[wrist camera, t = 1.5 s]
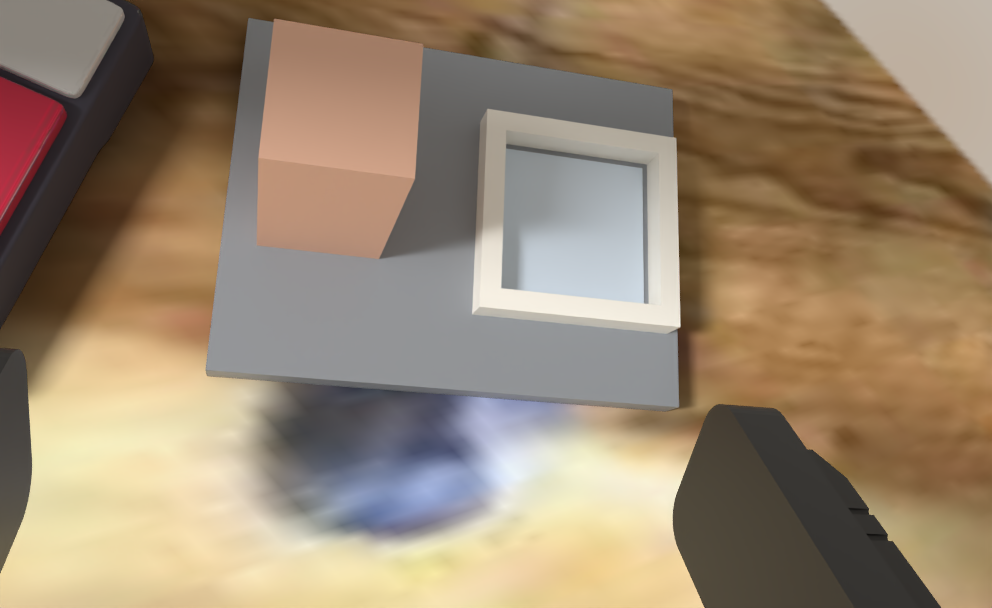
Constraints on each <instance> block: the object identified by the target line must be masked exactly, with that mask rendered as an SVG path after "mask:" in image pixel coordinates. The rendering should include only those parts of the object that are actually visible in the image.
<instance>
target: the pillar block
mask: <svg viewBox="0 0 992 608" xmlns="http://www.w3.org/2000/svg"><path fill="white" fill-rule="evenodd" d="M422 58H423V44H421V43H415V42H410V41H404V40H398V39H392V38H386V37H380V36H374V35H368V34H362V33H356V32H351V31H345V30H339V29H333V28H327V27H321V26H315V25H309V24H303V23H298V22H292V21H286V20H280V19H274V24H273V33H272V42H271V50H270V59H269V68H268V77H267V86H266V95H265V104H264V112H263V121H262V130H261V139H260V148H259V157H258V201H257V246H266V247H275V248H284V249H293V250H302V251H311V252H320V253H329V254H338V255H347V256H356V257H365V258H374V259H379V258H380V256H381V254H382V251H383V249H384V247H385V245H386V242H387V240H388V238H389V236H390V233H391V231H392V229H393V227H394V224H395V222H396V220H397V218H398V216H399V213H400V211H401V209H402V207H403V204H404V202H405V200H406V198H407V195H408V193H409V191H410V189H411V187H412V184H413V182H414V180H415V170H416V154H417V138H418V122H419V106H420V90H421V74H422Z"/></svg>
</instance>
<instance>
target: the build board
mask: <svg viewBox="0 0 992 608" xmlns="http://www.w3.org/2000/svg"><path fill="white" fill-rule="evenodd" d="M273 24H274V22H270V21H264V20H258V19H252V18H248V25H247V33H246V42H245V50H244V58H243V66H242V75H241V83H240V91H239V99H238V107H237V116H236V124H235V132H234V140H233V149H232V157H231V165H230V173H229V181H228V190H227V198H226V206H225V214H224V223H223V231H222V239H221V247H220V255H219V264H218V272H217V280H216V288H215V297H214V305H213V313H212V321H211V330H210V338H209V346H208V354H207V362H206V374H207V376H213V377H226V378H239V379H252V380H265V381H278V382H291V383H304V384H317V385H330V386H343V387H356V388H369V389H382V390H395V391H408V392H421V393H434V394H447V395H460V396H473V397H486V398H499V399H512V400H525V401H538V402H551V403H564V404H577V405H590V406H603V407H616V408H629V409H642V410H655V411H669V410H672V409H675V408H678V407H679V381H678V333H677V329H678V328H680V281H679V235H678V189H677V143H676V138H673V93H672V89H667V88H661V87H655V86H649V85H643V84H637V83H631V82H625V81H619V80H613V79H607V78H602V77H596V76H590V75H584V74H578V73H572V72H566V71H560V70H554V69H548V68H542V67H536V66H530V65H525V64H519V63H513V62H507V61H501V60H495V59H489V58H483V57H477V56H471V55H465V54H459V53H453V52H447V51H442V50H436V49H430V48H424V47H423V58H422V74H421V90H420V106H419V122H418V138H417V154H416V170H415V180H414V182H413V184H412V187H411V189H410V191H409V193H408V195H407V198H406V200H405V202H404V204H403V207H402V209H401V211H400V213H399V216H398V218H397V220H396V222H395V224H394V227H393V229H392V231H391V233H390V236H389V238H388V240H387V242H386V245H385V247H384V249H383V251H382V254H381V256H380V258H379V259H374V258H365V257H356V256H347V255H338V254H329V253H320V252H311V251H302V250H293V249H284V248H275V247H266V246H257V201H258V157H259V148H260V139H261V130H262V121H263V112H264V104H265V95H266V86H267V77H268V68H269V59H270V50H271V42H272V33H273Z"/></svg>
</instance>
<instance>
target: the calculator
mask: <svg viewBox="0 0 992 608" xmlns="http://www.w3.org/2000/svg"><path fill="white" fill-rule="evenodd" d="M153 60H154V57H153V52H152V49H151V45H150V41H149V37H148V33H147V30H146V26H145V23H144V19H143V15H142V13H141V11H140V9H139V8H138V7H137V6H135V5H133V4H131V3H129V2H127V1H125V0H0V329H1V327H2V325H3V323H4V322H5V320H6V318H7V316H8V315H9V313H10V311H11V309H12V308H13V306H14V304H15V302H16V301H17V299H18V297H19V295H20V293H21V291H22V290H23V288H24V286H25V284H26V282H27V281H28V279H29V277H30V275H31V273H32V272H33V270H34V268H35V266H36V264H37V262H38V261H39V259H40V257H41V255H42V253H43V252H44V250H45V248H46V246H47V244H48V243H49V241H50V239H51V237H52V235H53V233H54V232H55V230H56V228H57V226H58V224H59V223H60V221H61V219H62V217H63V215H64V214H65V212H66V210H67V208H68V206H69V204H70V203H71V201H72V199H73V197H74V195H75V194H76V192H77V190H78V188H79V186H80V185H81V183H82V181H83V179H84V177H85V175H86V174H87V172H88V170H89V168H90V166H91V165H92V163H93V161H94V159H95V157H96V155H97V154H98V152H99V150H100V149H101V148H102V147H103V146H104V145H105V144H106V143H107V142H108V140H109V139H110V137H111V135H112V134H113V132H114V130H115V128H116V127H117V125H118V123H119V121H120V120H121V118H122V116H123V114H124V113H125V111H126V109H127V107H128V106H129V104H130V102H131V100H132V99H133V97H134V95H135V93H136V92H137V90H138V88H139V86H140V85H141V83H142V81H143V79H144V78H145V76H146V74H147V72H148V71H149V69H150V67H151V65H152V63H153Z"/></svg>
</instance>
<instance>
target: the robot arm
mask: <svg viewBox="0 0 992 608" xmlns="http://www.w3.org/2000/svg"><path fill="white" fill-rule="evenodd" d="M31 475H32V454H31V437H30V420H29V404H28V387H27V370H26V362H25V358H24V355H23V353H22V351H21V350H18V349H6V348H0V573H1V570H2V568H3V566H4V563H5V561H6V558H7V556H8V554H9V551H10V549H11V546H12V544H13V542H14V539H15V537H16V534H17V532H18V530H19V527H20V525H21V522H22V520H23V517H24V514H25V510H26V506H27V502H28V497H29V492H30V485H31ZM673 530H674V536H675V540H676V544H677V546H678V549H679V551H680V553H681V556H682V558H683V560H684V562H685V565H686V567H687V569H688V571H689V574H690V576H691V578H692V580H693V583H694V585H695V587H696V589H697V592H698V594H699V596H700V598H701V601H702V603H703V605H704V607H705V608H941V607H940V605H939V604H938V603H937V601H936V600H935V598H934V597H933V596H932V594H931V593H930V592H929V590H928V589H927V587H926V586H925V585H924V583H923V582H922V581H921V579H920V578H919V577H918V575H917V574H916V572H915V571H914V570H913V568H912V567H911V566H910V564H909V563H908V561H907V560H906V559H905V557H904V556H903V555H902V553H901V552H900V551H899V549H898V548H897V546H896V545H895V544H894V542H893V541H888V539H887V536H888V534H887V533H886V531H885V530H884V529H883V527H882V526H881V525H880V523H879V522H878V520H877V519H876V518H875V516H874V515H869V508H868V507H867V505H866V504H865V503H864V501H863V500H862V498H861V497H860V496H859V494H858V493H857V492H856V490H855V489H854V488H853V486H852V485H851V483H850V482H849V481H848V479H847V478H846V477H845V476H844V475H842V474H841V473H840V472H839V471H837V470H836V469H835V468H834V467H833V466H831V465H830V464H829V463H828V462H826V461H825V460H824V459H823V458H822V457H820V456H819V455H818V454H817V453H815V452H814V451H813V450H807V449H806V447H805V446H804V445H803V443H802V442H801V440H800V439H799V437H798V436H797V435H796V433H795V432H794V430H793V429H792V427H791V426H790V425H789V423H788V422H787V420H786V419H785V418H784V416H783V415H782V414H781V413H780V412H779V411H778V410H776V409H774V408H764V407H750V406H737V405H724V404H718V405H716V406H714V407H713V408H712V409H711V410H710V411H709V413H708V414H707V416H706V418H705V421H704V423H703V426H702V429H701V431H700V434H699V436H698V439H697V442H696V444H695V447H694V450H693V452H692V455H691V458H690V460H689V463H688V465H687V468H686V471H685V473H684V476H683V479H682V481H681V484H680V487H679V489H678V492H677V495H676V498H675V502H674V509H673Z"/></svg>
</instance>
